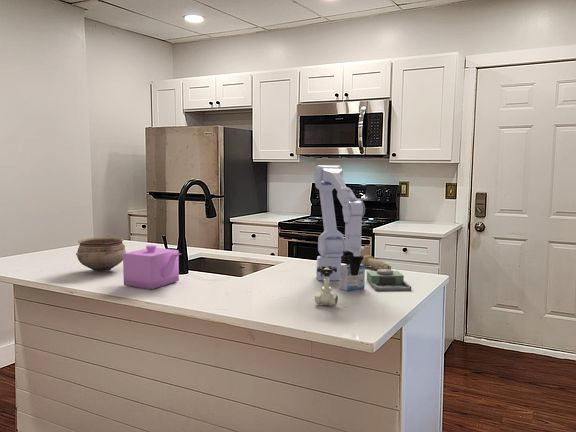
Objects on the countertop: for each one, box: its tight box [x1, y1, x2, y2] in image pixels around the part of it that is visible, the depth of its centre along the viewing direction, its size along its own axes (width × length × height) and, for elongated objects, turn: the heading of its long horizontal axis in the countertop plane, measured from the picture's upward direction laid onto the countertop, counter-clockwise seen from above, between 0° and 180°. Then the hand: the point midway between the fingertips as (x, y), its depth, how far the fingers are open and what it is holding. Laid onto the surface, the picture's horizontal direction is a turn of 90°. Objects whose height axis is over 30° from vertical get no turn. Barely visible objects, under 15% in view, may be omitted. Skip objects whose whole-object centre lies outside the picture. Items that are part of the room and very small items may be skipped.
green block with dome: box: [366, 269, 405, 285], centre depth 192 cm, size 12×8×4 cm
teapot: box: [122, 244, 181, 290], centre depth 188 cm, size 15×25×14 cm, turn 63°
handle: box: [361, 254, 392, 271], centre depth 215 cm, size 5×6×15 cm
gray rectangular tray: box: [370, 280, 412, 292], centre depth 184 cm, size 13×9×2 cm
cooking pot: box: [75, 236, 127, 272], centre depth 211 cm, size 25×19×12 cm
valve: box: [314, 266, 339, 307], centre depth 160 cm, size 7×7×12 cm
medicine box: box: [339, 264, 366, 292], centre depth 182 cm, size 8×4×9 cm, turn 118°
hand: (352, 273), depth 182 cm, fingers open, 7 cm apart
